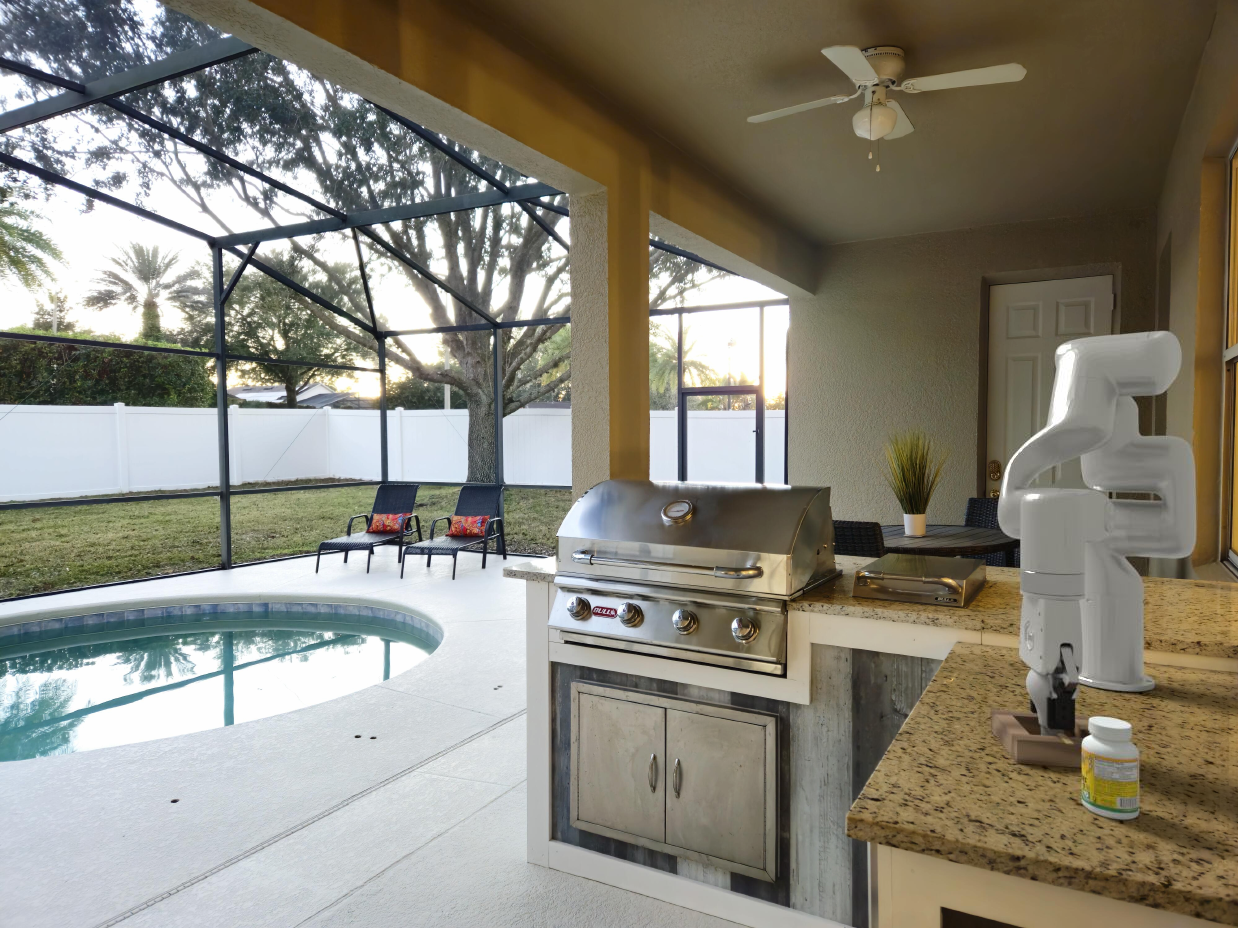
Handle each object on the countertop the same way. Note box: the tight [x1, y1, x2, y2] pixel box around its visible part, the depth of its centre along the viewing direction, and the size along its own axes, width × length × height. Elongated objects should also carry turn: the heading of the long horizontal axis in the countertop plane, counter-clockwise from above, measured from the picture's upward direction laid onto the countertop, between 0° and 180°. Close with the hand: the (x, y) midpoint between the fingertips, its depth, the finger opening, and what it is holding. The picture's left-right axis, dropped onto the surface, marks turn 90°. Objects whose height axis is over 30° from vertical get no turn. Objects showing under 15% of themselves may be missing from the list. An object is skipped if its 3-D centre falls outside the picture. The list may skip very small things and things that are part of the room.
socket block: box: [990, 709, 1092, 769], centre depth 102 cm, size 12×12×3 cm
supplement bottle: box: [1081, 716, 1140, 821], centre depth 84 cm, size 5×5×10 cm
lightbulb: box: [1025, 668, 1080, 736], centre depth 102 cm, size 6×6×11 cm
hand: (1051, 719), depth 102 cm, fingers closed on lightbulb, 5 cm apart
